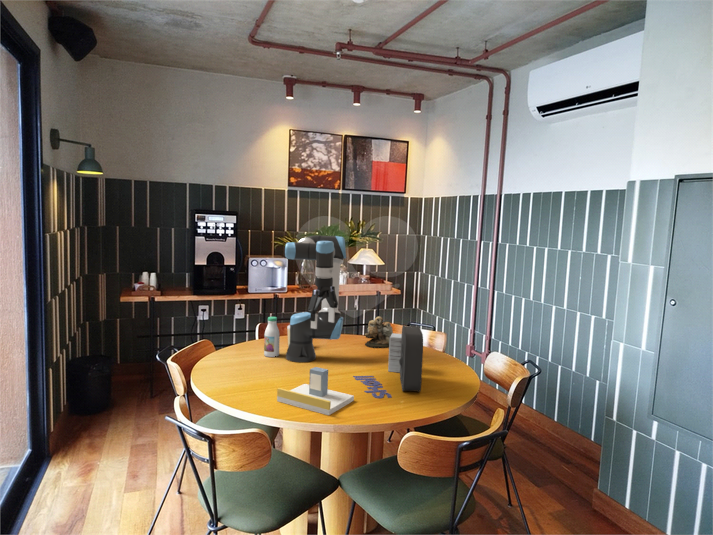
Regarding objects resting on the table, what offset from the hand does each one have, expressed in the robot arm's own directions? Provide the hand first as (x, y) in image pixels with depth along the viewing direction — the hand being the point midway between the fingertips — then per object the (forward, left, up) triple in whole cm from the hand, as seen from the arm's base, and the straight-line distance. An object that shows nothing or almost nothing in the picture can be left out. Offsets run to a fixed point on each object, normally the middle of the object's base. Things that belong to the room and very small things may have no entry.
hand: (322, 325), depth 211 cm
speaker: (+33, +19, -25) cm, 46 cm away
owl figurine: (-9, +72, -25) cm, 76 cm away
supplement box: (+20, +37, -25) cm, 49 cm away
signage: (+21, +8, -26) cm, 34 cm away
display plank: (+11, -20, -25) cm, 34 cm away
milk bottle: (-44, +19, -25) cm, 54 cm away
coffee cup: (-44, +39, -25) cm, 64 cm away
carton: (+11, -18, -23) cm, 31 cm away
